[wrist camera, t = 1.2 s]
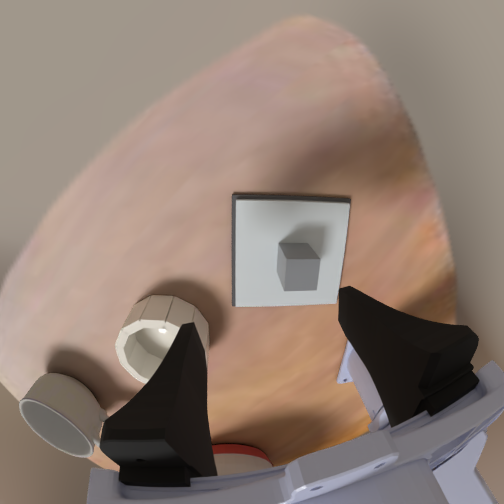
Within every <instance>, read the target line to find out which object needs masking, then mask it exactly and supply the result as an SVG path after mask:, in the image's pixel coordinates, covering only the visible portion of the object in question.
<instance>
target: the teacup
mask: <svg viewBox="0 0 504 504" xmlns="http://www.w3.org/2000/svg"><path fill="white" fill-rule="evenodd" d="M19 408H20V411H21V415H22V417H23V418H24V419H25V421H26V422H27V424H28V425H29V426H30V427H31V428H32V430H34V432H36V433H37V434H38V435H39V436H40V437H41V438H42V439H44V440H45V441H46V442H48V443H49V444H51V445H52V446H54V447H56V448H57V449H59V450H61V451H63V452H65V453H67V454H70V455H74V456H77V457H89V456H91V455H92V454H93V452H94V446H95V444H96V445H97V446H98V447H99V445H100V440H101V439H100V437H99V433H100V430H101V427H102V422H104V421H105V420H106V419H107V418H109V416H107V413H106V411H105V410H104V409H102V408H100V405H99V403H98V402H97V400H96V399H95V397H94V395H93V394H92V393H91V391H90V390H89V389H88V388H87V387H86V386H85V385H84V384H82V383H81V382H79V381H78V380H76V379H74V378H72V377H70V376H67V375H62V374H58V373H48V374H45V375H43V376H41V377H40V378H39V379H38V380H37V381H36V382H35V383H34V384H33V386H32V387H31V388H30V390H29V391H28V393H27V394H26V395H25V397H24V398H23V399H22V400H21V401H20V402H19ZM99 448H100V447H99Z"/></svg>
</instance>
